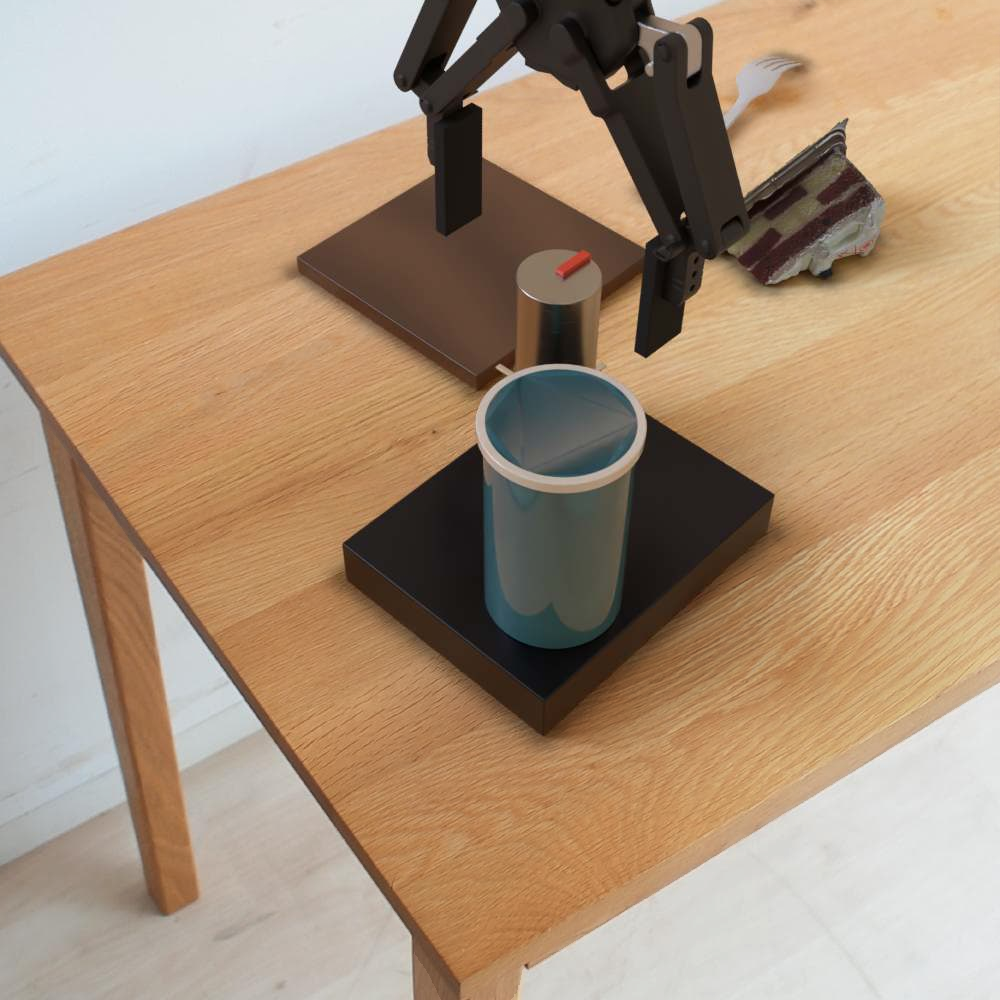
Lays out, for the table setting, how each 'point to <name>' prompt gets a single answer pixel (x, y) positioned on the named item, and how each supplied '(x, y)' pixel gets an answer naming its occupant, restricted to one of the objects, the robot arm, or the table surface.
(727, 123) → the fork
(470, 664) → the hob
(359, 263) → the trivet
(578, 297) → the knob
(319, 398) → the table surface
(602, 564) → the pot
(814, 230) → the chocolate cake
